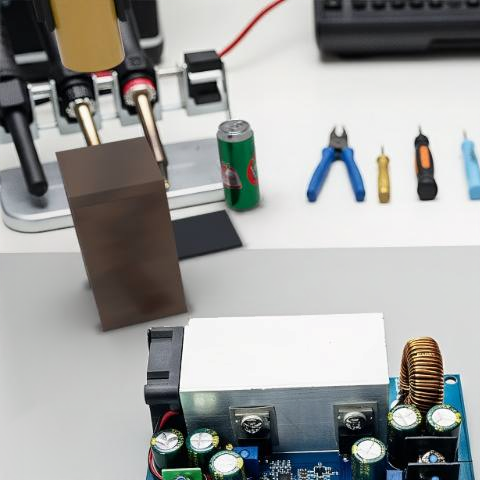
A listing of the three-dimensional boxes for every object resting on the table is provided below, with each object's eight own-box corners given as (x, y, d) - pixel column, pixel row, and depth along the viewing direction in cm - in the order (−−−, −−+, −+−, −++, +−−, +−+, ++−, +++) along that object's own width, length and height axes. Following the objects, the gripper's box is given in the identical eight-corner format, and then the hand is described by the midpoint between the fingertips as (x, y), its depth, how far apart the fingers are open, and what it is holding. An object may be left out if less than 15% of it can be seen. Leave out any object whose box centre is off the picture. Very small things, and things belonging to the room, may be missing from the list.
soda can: (218, 202, 143) (207, 125, 134) (246, 189, 145) (238, 113, 137) (239, 216, 140) (229, 139, 132) (267, 203, 142) (260, 127, 134)
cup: (67, 76, 103) (47, -12, 97) (56, 51, 107) (36, -35, 101) (130, 66, 105) (114, -21, 98) (118, 41, 109) (102, -44, 103)
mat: (177, 260, 132) (176, 257, 132) (162, 225, 138) (161, 222, 138) (242, 246, 135) (242, 243, 134) (225, 212, 141) (225, 209, 140)
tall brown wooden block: (103, 331, 121) (68, 197, 108) (88, 283, 128) (54, 152, 115) (187, 311, 124) (164, 179, 111) (169, 265, 131) (144, 135, 118)
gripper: (132, -189, 96) (161, -3, 108) (-57, -173, 91) (-5, 19, 103) (148, -168, 91) (176, 24, 103) (-52, -151, 86) (2, 49, 98)
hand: (85, 20), depth 103 cm, fingers closed on cup, 6 cm apart
